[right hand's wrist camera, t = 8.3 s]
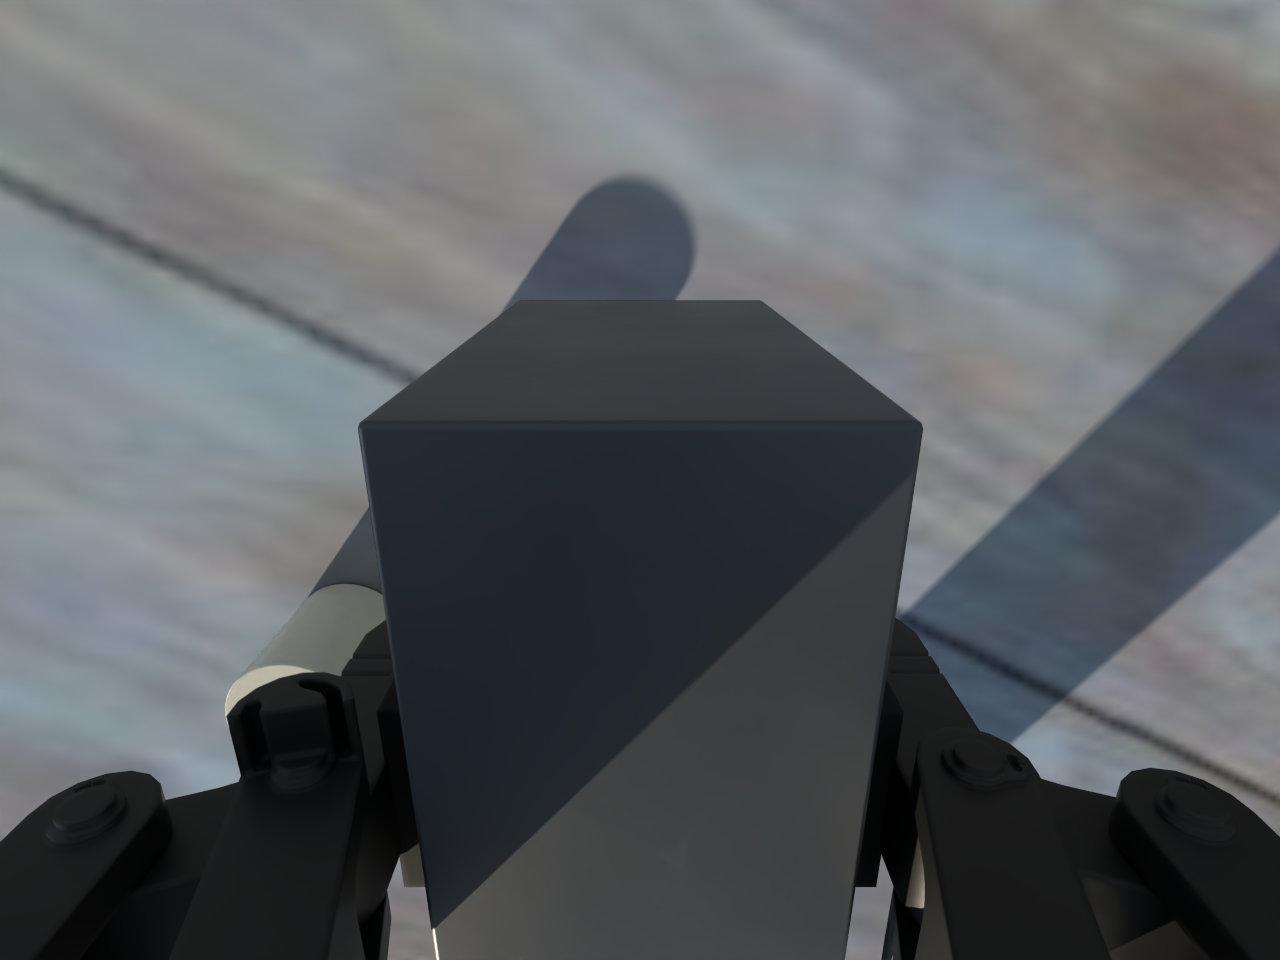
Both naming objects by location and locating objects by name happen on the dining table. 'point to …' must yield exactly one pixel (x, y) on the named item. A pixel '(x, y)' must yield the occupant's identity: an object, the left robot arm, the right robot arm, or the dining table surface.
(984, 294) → the dining table surface
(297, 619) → the off-white cylinder
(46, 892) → the right robot arm
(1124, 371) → the dining table surface
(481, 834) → the bar
